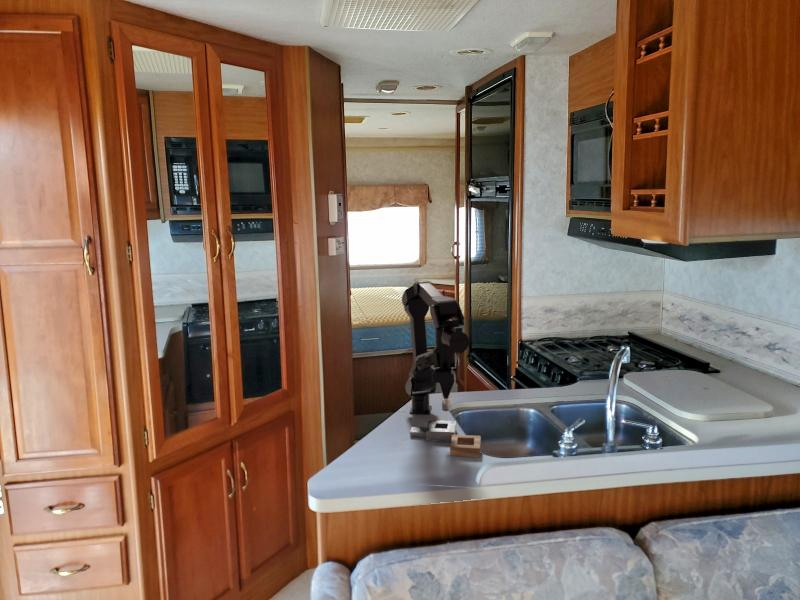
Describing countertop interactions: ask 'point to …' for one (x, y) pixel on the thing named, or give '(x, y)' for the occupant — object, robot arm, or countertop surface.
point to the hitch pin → (446, 403)
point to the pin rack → (465, 445)
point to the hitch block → (436, 431)
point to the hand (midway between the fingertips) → (446, 396)
